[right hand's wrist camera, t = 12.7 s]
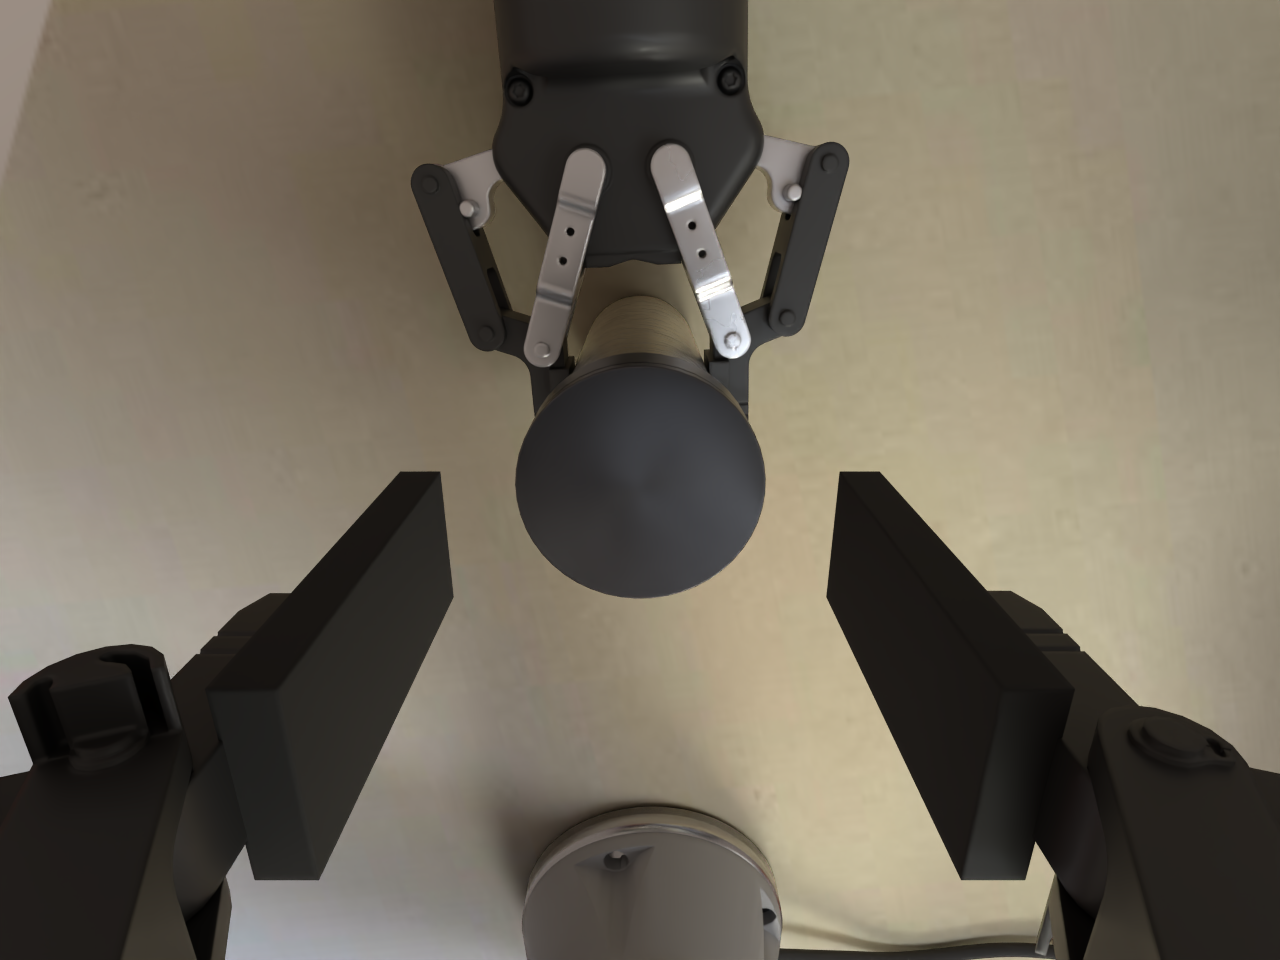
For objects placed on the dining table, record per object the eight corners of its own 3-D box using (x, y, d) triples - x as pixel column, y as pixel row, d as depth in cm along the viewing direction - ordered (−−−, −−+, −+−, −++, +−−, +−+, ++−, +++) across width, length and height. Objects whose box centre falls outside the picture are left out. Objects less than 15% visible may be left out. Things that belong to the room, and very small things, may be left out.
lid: (759, 559, 19) (769, 589, 17) (542, 576, 19) (534, 608, 17) (751, 340, 17) (761, 353, 15) (508, 363, 17) (496, 378, 15)
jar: (697, 398, 33) (747, 565, 17) (592, 407, 33) (552, 581, 18) (690, 290, 31) (739, 371, 16) (580, 300, 31) (523, 391, 16)
